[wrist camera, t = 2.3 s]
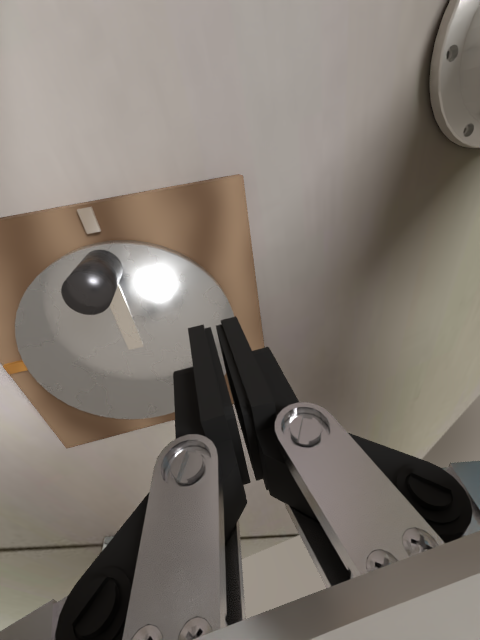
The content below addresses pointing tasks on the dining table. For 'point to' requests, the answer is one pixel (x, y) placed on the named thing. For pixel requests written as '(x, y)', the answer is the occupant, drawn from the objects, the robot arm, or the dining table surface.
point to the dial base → (139, 225)
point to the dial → (117, 326)
